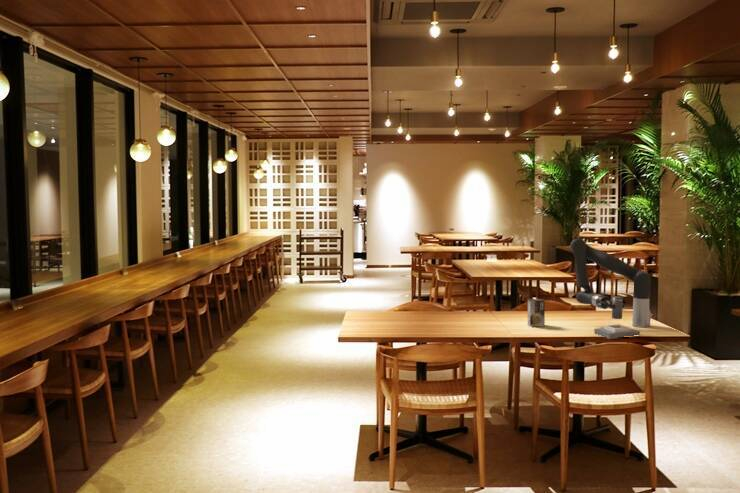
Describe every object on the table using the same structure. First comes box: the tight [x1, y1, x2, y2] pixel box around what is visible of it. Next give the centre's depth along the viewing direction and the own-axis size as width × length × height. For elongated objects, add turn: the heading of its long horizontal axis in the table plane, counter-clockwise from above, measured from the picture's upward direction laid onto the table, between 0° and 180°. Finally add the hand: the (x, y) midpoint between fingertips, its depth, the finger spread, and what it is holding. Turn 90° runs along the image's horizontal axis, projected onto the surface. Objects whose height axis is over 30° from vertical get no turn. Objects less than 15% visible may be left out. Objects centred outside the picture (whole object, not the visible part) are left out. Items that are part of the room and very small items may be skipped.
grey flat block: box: [593, 323, 641, 340], centre depth 396 cm, size 20×14×5 cm
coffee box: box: [527, 298, 546, 327], centre depth 423 cm, size 9×6×16 cm
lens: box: [611, 296, 624, 320], centre depth 394 cm, size 6×6×12 cm
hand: (619, 306), depth 393 cm, fingers closed on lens, 5 cm apart
